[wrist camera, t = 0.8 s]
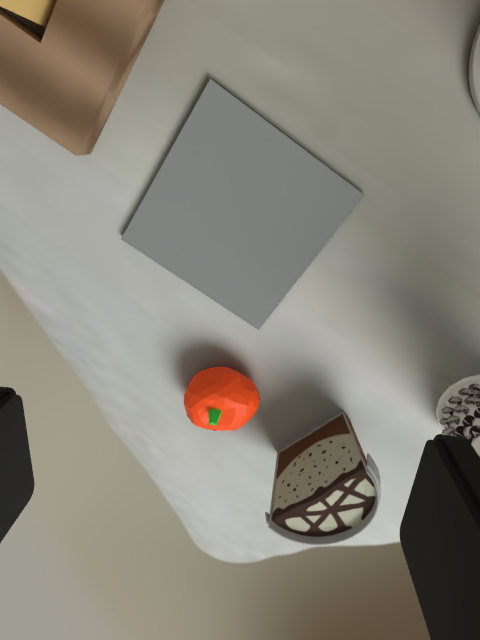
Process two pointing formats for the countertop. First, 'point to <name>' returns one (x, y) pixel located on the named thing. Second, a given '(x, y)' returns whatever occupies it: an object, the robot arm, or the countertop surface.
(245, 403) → the pumpkin
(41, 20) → the ochre block
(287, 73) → the countertop surface
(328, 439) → the food container
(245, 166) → the grey mat
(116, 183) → the countertop surface
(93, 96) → the walnut cradle
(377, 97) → the countertop surface
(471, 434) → the decorative candle
